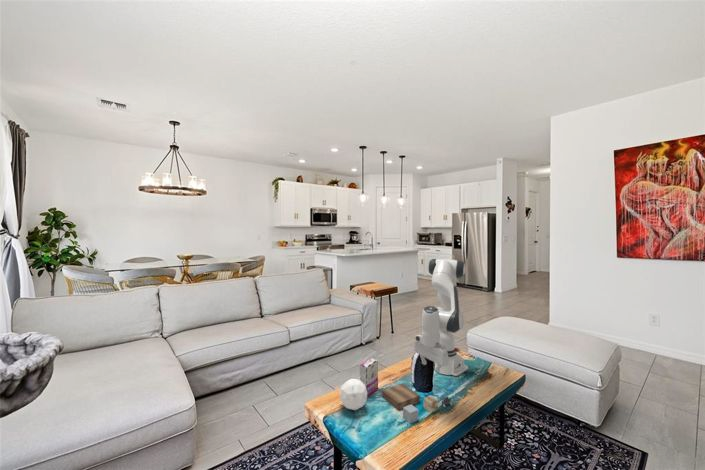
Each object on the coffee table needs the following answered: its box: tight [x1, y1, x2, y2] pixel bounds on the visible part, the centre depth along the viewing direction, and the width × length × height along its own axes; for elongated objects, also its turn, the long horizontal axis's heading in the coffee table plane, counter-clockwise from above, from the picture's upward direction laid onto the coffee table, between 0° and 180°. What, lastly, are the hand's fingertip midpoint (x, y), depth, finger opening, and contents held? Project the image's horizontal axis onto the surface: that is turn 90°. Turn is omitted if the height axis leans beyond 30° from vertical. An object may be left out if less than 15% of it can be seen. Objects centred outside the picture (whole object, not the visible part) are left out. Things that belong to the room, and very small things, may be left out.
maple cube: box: [423, 394, 439, 414], centre depth 149 cm, size 5×5×5 cm
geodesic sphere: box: [339, 378, 368, 411], centre depth 149 cm, size 15×14×14 cm
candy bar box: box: [359, 357, 379, 398], centre depth 165 cm, size 11×5×16 cm, turn 143°
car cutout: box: [440, 395, 468, 408], centre depth 154 cm, size 15×7×4 cm, turn 118°
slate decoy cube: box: [402, 405, 419, 424], centre depth 141 cm, size 5×5×5 cm
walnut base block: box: [381, 383, 421, 411], centre depth 157 cm, size 14×14×4 cm
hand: (430, 367), depth 149 cm, fingers open, 8 cm apart
